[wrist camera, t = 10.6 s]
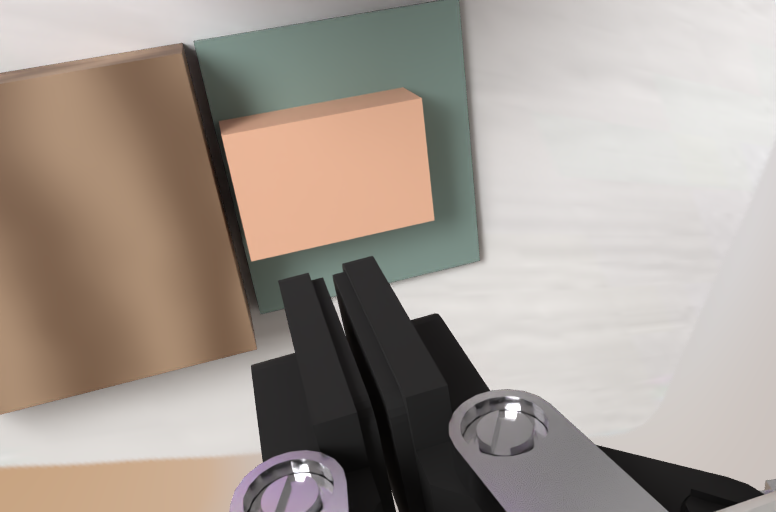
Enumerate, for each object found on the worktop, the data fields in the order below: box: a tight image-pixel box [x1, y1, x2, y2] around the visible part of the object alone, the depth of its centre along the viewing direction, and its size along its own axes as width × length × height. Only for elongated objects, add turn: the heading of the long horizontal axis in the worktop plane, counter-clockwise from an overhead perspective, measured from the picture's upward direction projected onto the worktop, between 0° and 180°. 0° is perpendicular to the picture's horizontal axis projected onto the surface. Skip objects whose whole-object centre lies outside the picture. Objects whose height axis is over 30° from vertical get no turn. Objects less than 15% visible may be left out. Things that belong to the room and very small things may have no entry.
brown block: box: [0, 43, 257, 415], centre depth 30 cm, size 15×14×4 cm
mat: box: [194, 0, 480, 314], centre depth 34 cm, size 12×14×1 cm
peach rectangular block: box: [219, 87, 434, 261], centre depth 32 cm, size 9×6×3 cm, turn 97°
